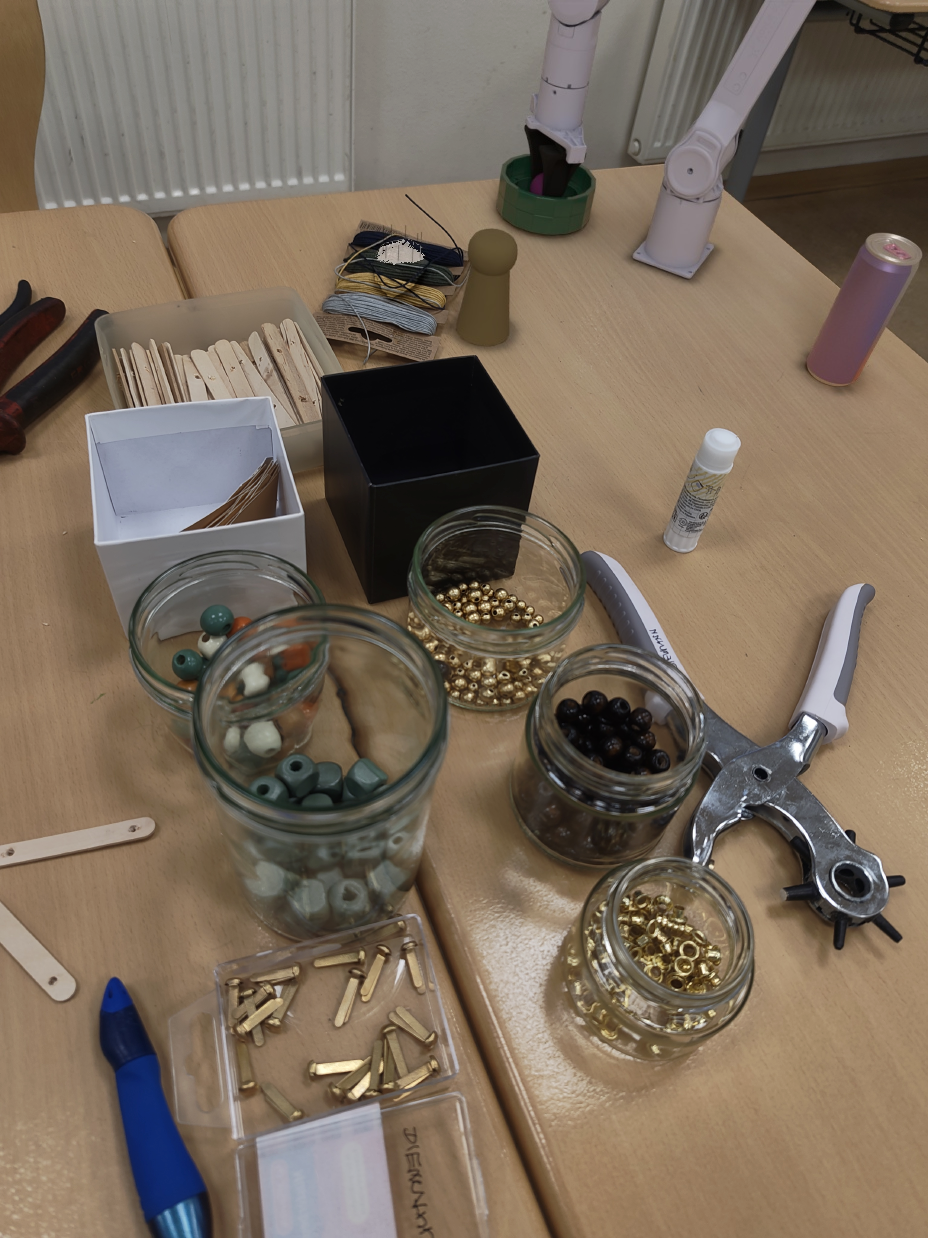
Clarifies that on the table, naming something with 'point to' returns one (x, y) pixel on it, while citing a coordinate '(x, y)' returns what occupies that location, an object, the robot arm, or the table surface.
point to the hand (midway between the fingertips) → (545, 194)
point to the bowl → (544, 200)
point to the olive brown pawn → (487, 288)
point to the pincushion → (399, 251)
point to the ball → (537, 185)
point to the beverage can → (863, 308)
